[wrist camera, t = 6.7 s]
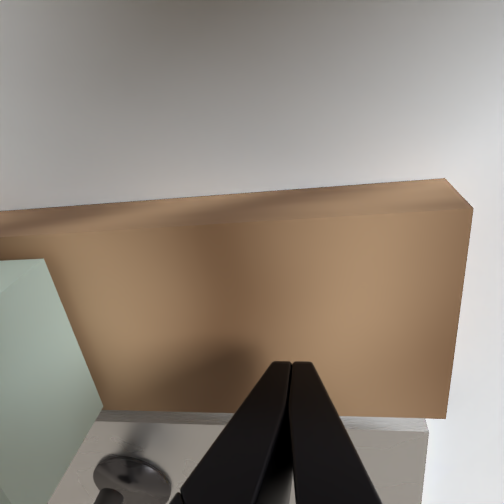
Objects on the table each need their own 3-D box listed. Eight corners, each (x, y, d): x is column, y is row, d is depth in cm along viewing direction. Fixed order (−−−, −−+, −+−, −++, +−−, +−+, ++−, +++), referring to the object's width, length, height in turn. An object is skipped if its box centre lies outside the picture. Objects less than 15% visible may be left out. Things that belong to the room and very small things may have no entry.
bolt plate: (422, 411, 13) (430, 436, 12) (411, 532, 16) (416, 558, 16) (-137, 398, 17) (-160, 416, 17) (-61, 496, 21) (-77, 516, 20)
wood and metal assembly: (444, 178, 10) (595, 338, 4) (412, 525, 16) (458, 757, 11) (-266, 230, 14) (-621, 346, 9) (-66, 490, 20) (-199, 647, 15)
